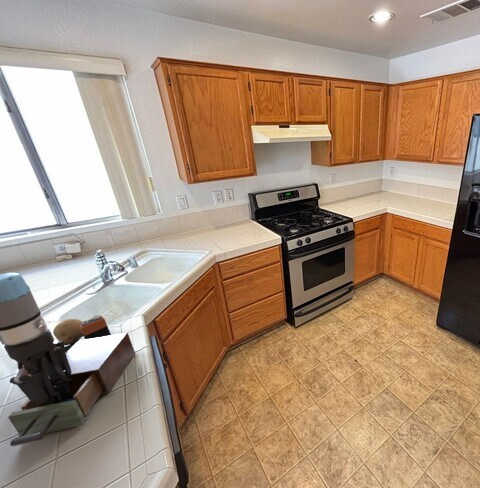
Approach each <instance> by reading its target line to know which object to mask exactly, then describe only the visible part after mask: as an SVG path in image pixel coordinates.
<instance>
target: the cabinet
mask: <svg viewBox="0 0 480 488" xmlns="http://www.w3.org/2000/svg"><path fill="white" fill-rule="evenodd" d="M66 356H67V359H68V362H69V365H70V368H71V371H72V374H71V375H69V376H68V377H72V376H78V375H83V374H88V373H94V372H96V373H97V375H98V377H99V379H100V381H101V384H102V386H103V388H104V390H103V392H102V393H101V395H100V396H104V395H109V394H110V393H111V392H112V390H113V389H114V387H115V386H116V384H117V382H118V381H119V380H120V378H121V377H122V375H123V373H124V372H125V371H126V369H127V367H128V366H129V364H130V363H131V362H132V361H133V358H134V357H135V356H136V351H135V349H134V347H133V342H132V341H131V338H130V335H129V333H128V332H123V333H116V334H111V335H109V336H103V337H97V338H91V339H85V338H84V339H80V340H79V341H78V342H77V343H76V344H75V345H74V346H73V347H72V348H71V349H70V350H69V351H68V352H67V353H66ZM63 372H65V371H63ZM49 379H50V381H51V378H50V377H49Z"/></svg>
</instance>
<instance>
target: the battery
mask: <svg viewBox="0 0 480 488" xmlns="http://www.w3.org/2000/svg"><path fill="white" fill-rule="evenodd" d="M79 327H80V329H81V332H82V334H83V338H84V340H85V339H91V338H97V337H103V336H109V335H112V334H111V332H110V331H111V330H110V329H109V327H108V324H107V321H106V318H104V316H102V315H101V314H100V315H99V314H98V315H94V316H93V317H92V318H90V319H88V320H83V321H82V323H80V324H79Z"/></svg>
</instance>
